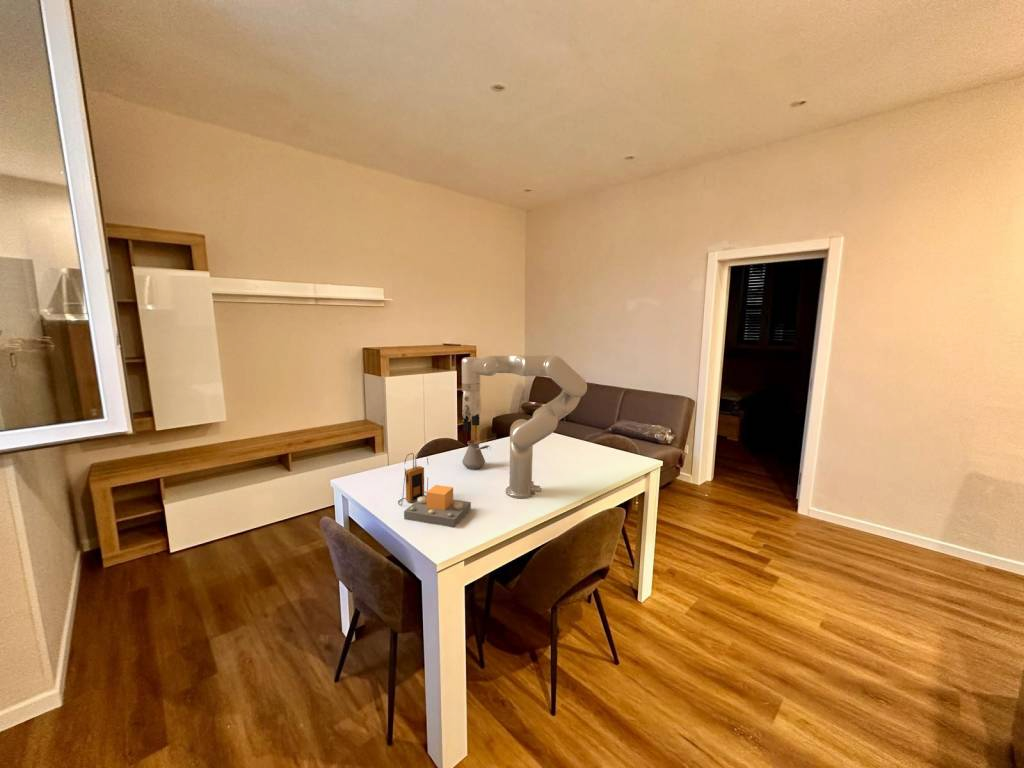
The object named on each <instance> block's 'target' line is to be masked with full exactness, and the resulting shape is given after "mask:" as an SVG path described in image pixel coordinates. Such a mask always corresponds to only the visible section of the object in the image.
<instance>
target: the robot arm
mask: <svg viewBox="0 0 1024 768" xmlns="http://www.w3.org/2000/svg"><path fill="white" fill-rule="evenodd" d="M496 374H513V375H517V376H521V377H548V378H550V379H551V380H552V381H553V382H554V383H556V384H557V386H559V387H560V388H561V389H562V390H561V392H560V394H559V395H557V396H556V397H555V398H553V399H552V400H550V401H549V402H547V403H545V404H543V405H541V406H540V407H539V408H536V410H535V411H534V412H533V414H532V417H531V418H530V419H528V420H527V419H525V418H524V419H523V418H520V419H517V420H515V421H513V423H512V424H511V426H510V430H509V486H507V487H506V488H505V494H506V495H507V496H509V497H511V498H516V499H526V498H527V499H528V498H531V497H533V496H534V495H535V494H536V492H537V493H542V487H541V486H540V485H535V482H534V481H533V453H534V452H533V447H534V446H535V445H536V444H537V443H539V442H540V441H543V440H544V439H545V438H547V437H548V436H550V435H552V434H553V433H554V432H555V430H556V429H557V427H558V422H559V421H560V420H562V419H564V417H566V416H567V415H569V414H571V413H572V412H573V411H574V410H575V409H576V408H577V407H578V404H579V402H580V400H581V398H582V397H583V396H585V394H586V392H587V390H588V384H587V381H586V380H585V379H584V377H582V376H581V375H580V374H579V373H578V372H577V371H575V370H574V369H573V368H572V367H571V366H570V365H569V364H568V363H567V362H566V361H565V360H564V359H563V358H562V357H560V356H557V355H553V354H552V355H551V354H549V355H548V354H547V355H544V354H543V355H540V354H539V355H536V354H535V355H525V354H524V355H486V356H485V357H483V358H479V357H476V356H468V357H463V358H462V359H461V392H463V393H462V412H461V414H462V427H463V428H462V429H463V431H464V432H471V431H472V426H480V415H481V414H480V413H481V412H482V399H481V397H482V396H481V376H485V377H492V376H495V375H496Z"/></svg>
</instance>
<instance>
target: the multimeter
mask: <svg viewBox="0 0 1024 768" xmlns="http://www.w3.org/2000/svg"><path fill="white" fill-rule="evenodd" d="M421 452H422V450H420V451H418V452H417V453H416V455H415V454H414V453H413V452H412V453H408V454H407V455H406V456H405V460H404V463H406V461H407V458H408V457H409V456H410V455H413V456H412V458H413V460H412V468H407V469H405V470H404V476H405V477H404V479H403V483H405V485H403V489H402V495H404V494H405V498H404V497H402V498H401V499H399V500H398V502H397V503H398V505H399V506H402V505H403V502H404V501H403V500H406V502H408V503H413V502H416V501H417V500H418V497H422V496H424V495H425V493H426V492H427V491H429V489H428V488H429V478H427V484H426V485H427V486H426V491H425V467H423V466H421V465H418V466H417V455H418V454H419V453H421ZM423 452H424V453H425V457H426V460H427V464H429V459H428V454H427V452H426V451H425V450H423ZM404 492H405V493H404ZM400 501H401V503H400Z"/></svg>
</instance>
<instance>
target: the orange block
mask: <svg viewBox="0 0 1024 768" xmlns="http://www.w3.org/2000/svg"><path fill="white" fill-rule="evenodd" d="M425 492H426V498H427V508H433V509H439V510H446V509H447V508H448V507H449V506H450V505H451V504H452V503H453V499H454V487H453V486H448V485H442V484H441V485H439V484H435V485H434V486H432V487H431V488H430V489H428V490H426V491H425Z"/></svg>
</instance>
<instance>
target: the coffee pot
mask: <svg viewBox="0 0 1024 768" xmlns="http://www.w3.org/2000/svg"><path fill="white" fill-rule="evenodd" d="M480 443H481V441H480V440H472V439H471V440H468V441H467V443H466V444H467V449H466V452H465V454H464V456H463V458H462V460H461V462H462V464H463V466H464V467H465V468H466V469H468V470H478V469H479V470H480V469H481V468H482V467H483V466H484V465H485V464H486V459H485V458H484V455H483V453H482V451H481V450H484V449H486V450H491V448H492V447H490V445H483V446H481V447H480ZM488 448H489V449H488Z"/></svg>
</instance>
